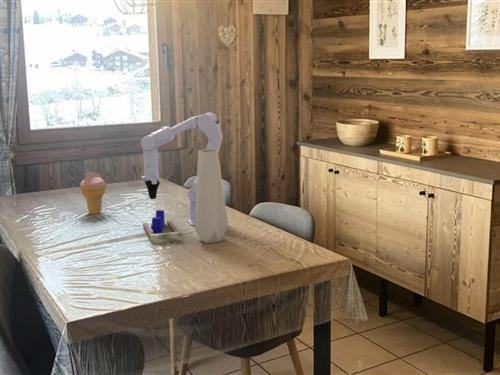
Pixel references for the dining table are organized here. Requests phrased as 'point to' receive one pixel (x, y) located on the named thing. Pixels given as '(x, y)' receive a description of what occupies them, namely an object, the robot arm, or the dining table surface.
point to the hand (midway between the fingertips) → (152, 198)
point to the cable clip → (158, 221)
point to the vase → (210, 198)
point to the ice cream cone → (93, 191)
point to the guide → (163, 234)
